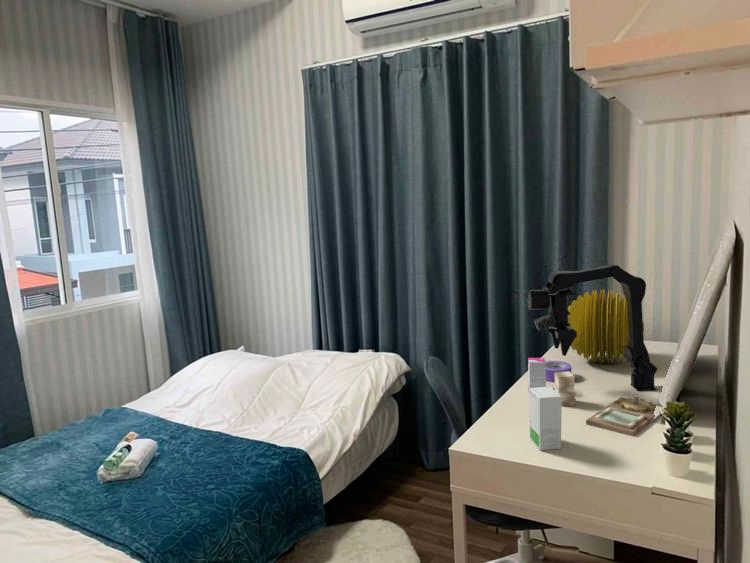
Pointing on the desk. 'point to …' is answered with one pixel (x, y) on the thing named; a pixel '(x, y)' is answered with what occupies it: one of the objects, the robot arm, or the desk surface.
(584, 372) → the desk surface
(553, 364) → the tape roll
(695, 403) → the desk surface
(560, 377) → the marble stone block
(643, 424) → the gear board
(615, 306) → the lamp
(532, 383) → the supplement box
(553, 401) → the skincare box
